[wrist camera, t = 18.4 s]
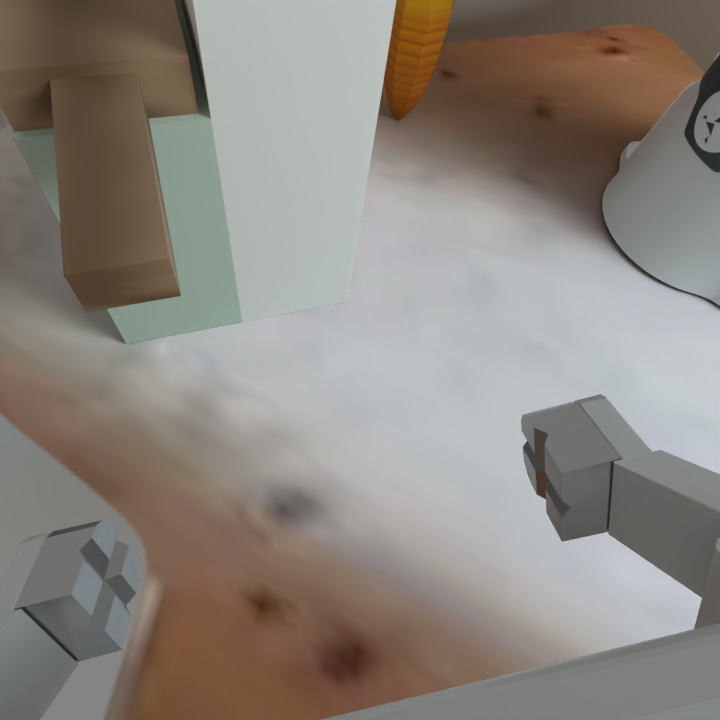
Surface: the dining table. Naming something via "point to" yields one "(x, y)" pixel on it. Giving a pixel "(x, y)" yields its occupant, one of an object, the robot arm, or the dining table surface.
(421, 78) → the carrot
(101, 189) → the brown block
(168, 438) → the dining table surface
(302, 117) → the white two-tone stepped block
